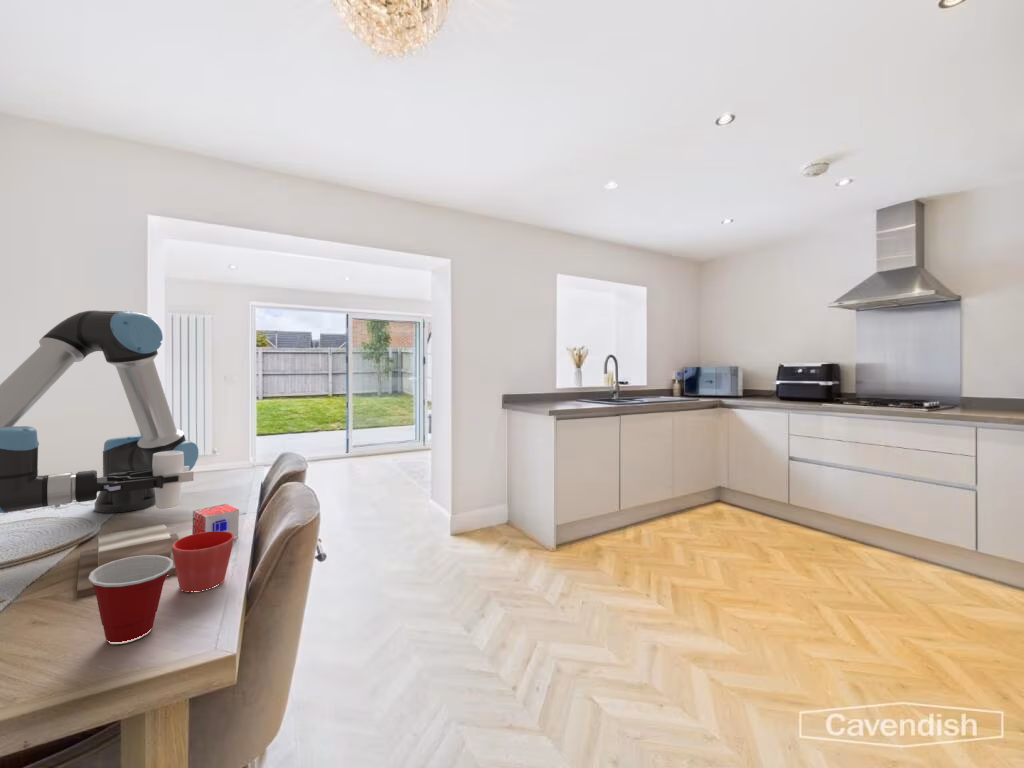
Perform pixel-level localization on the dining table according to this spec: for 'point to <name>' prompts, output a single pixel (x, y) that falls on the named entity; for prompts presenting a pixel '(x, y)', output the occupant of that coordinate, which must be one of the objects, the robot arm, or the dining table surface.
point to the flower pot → (202, 559)
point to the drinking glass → (166, 465)
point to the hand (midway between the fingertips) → (190, 473)
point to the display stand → (124, 551)
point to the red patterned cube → (216, 519)
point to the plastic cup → (129, 594)
